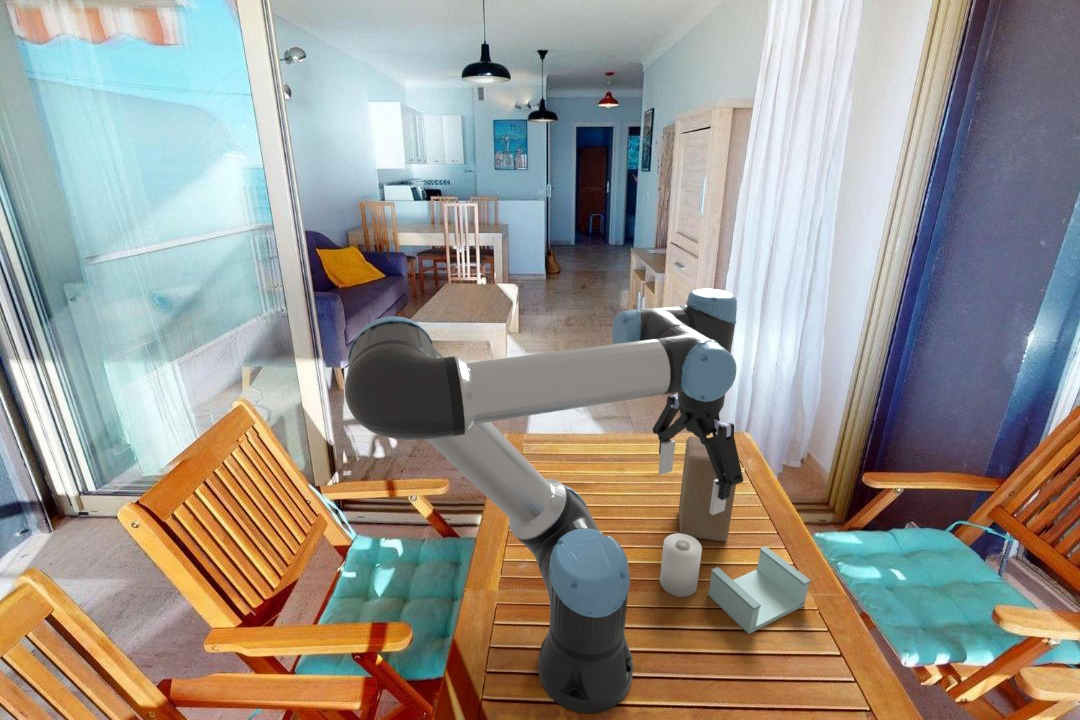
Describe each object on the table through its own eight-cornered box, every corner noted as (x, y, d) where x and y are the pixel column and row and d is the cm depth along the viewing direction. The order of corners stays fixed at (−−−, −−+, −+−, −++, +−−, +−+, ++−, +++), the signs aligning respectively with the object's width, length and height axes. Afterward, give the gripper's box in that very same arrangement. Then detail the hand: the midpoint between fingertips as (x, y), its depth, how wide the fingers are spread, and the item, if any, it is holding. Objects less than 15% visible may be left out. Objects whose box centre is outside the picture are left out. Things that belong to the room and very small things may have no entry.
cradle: (749, 634, 96) (754, 608, 94) (707, 594, 105) (711, 569, 102) (804, 606, 102) (810, 580, 100) (761, 570, 111) (765, 546, 108)
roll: (675, 601, 103) (680, 562, 100) (652, 577, 109) (656, 539, 105) (704, 589, 106) (710, 550, 103) (680, 565, 112) (684, 528, 108)
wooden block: (727, 544, 118) (740, 463, 110) (679, 537, 120) (688, 457, 112) (722, 515, 127) (734, 438, 120) (678, 509, 129) (686, 434, 121)
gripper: (779, 408, 83) (759, 524, 91) (671, 355, 104) (662, 453, 112) (743, 419, 80) (724, 538, 88) (638, 361, 101) (631, 462, 108)
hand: (689, 490), depth 100 cm, fingers open, 13 cm apart
